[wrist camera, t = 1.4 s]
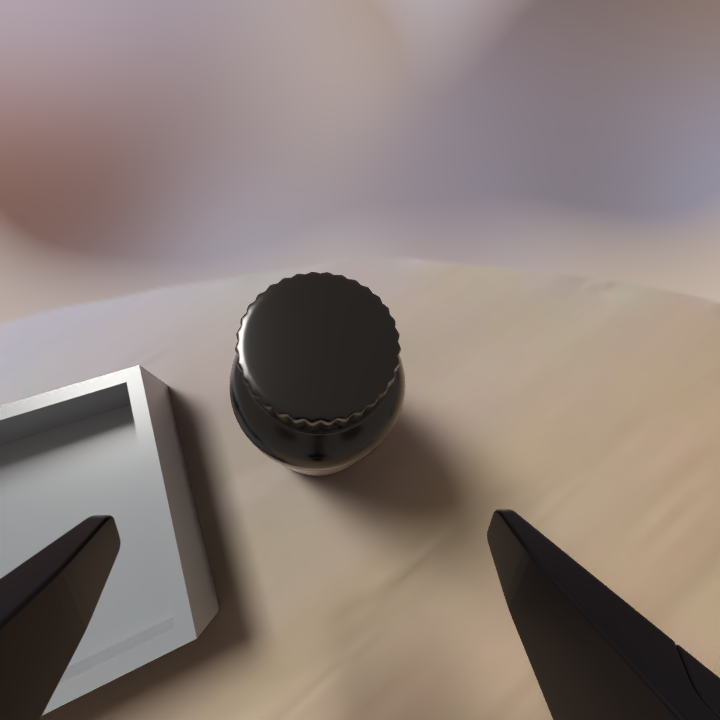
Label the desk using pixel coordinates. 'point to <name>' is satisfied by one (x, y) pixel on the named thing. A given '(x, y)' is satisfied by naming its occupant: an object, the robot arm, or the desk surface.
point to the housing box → (109, 497)
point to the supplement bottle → (317, 373)
